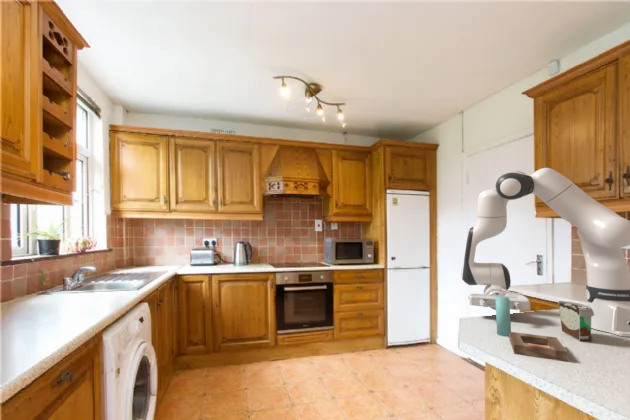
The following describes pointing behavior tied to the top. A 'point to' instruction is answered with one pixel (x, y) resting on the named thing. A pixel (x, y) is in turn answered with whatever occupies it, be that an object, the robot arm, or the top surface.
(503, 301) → the teal peg
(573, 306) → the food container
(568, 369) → the top surface
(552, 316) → the top surface
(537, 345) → the hole plate
